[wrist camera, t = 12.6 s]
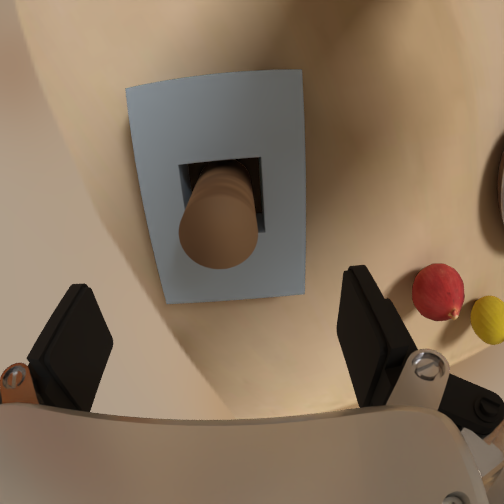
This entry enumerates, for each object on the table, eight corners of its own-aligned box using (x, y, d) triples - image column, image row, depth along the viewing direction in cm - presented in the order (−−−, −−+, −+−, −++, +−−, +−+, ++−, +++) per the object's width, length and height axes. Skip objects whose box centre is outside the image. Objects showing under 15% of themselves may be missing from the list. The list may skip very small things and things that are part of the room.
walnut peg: (249, 155, 25) (255, 193, 16) (252, 205, 27) (260, 266, 19) (195, 160, 25) (172, 201, 16) (201, 209, 27) (185, 271, 19)
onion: (449, 249, 30) (488, 290, 23) (435, 292, 33) (467, 336, 26) (407, 250, 30) (445, 295, 23) (395, 295, 33) (425, 344, 26)
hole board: (292, 72, 22) (301, 69, 18) (297, 269, 31) (304, 294, 27) (141, 88, 22) (125, 88, 18) (173, 279, 31) (166, 304, 27)
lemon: (484, 312, 36) (512, 349, 29) (456, 321, 36) (484, 361, 29) (494, 281, 33) (527, 316, 26) (466, 288, 33) (499, 328, 26)
